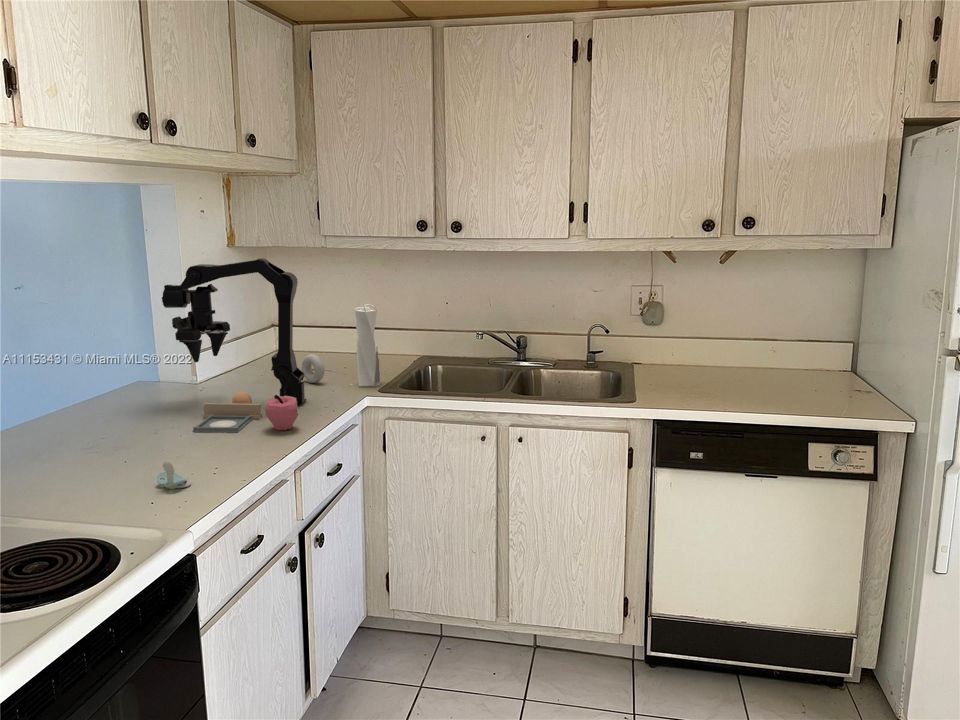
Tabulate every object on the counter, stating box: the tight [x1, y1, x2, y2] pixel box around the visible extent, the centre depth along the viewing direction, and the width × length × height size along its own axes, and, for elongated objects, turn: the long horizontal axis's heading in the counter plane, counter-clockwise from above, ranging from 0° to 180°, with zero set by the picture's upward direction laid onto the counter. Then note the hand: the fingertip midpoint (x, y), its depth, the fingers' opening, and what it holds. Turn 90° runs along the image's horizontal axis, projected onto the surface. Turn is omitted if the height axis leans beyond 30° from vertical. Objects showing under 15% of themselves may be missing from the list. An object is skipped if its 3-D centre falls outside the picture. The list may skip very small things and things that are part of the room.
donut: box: [301, 353, 325, 384], centre depth 246 cm, size 10×4×10 cm, turn 53°
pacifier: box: [156, 459, 192, 490], centre depth 155 cm, size 7×6×6 cm
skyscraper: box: [353, 303, 381, 388], centre depth 242 cm, size 8×8×28 cm
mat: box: [192, 416, 253, 434], centre depth 198 cm, size 12×12×1 cm
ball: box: [231, 391, 253, 404], centre depth 213 cm, size 6×6×6 cm
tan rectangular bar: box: [202, 402, 264, 420], centre depth 205 cm, size 16×3×4 cm, turn 90°
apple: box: [264, 394, 299, 431], centre depth 195 cm, size 10×9×10 cm
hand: (206, 359), depth 217 cm, fingers open, 9 cm apart
